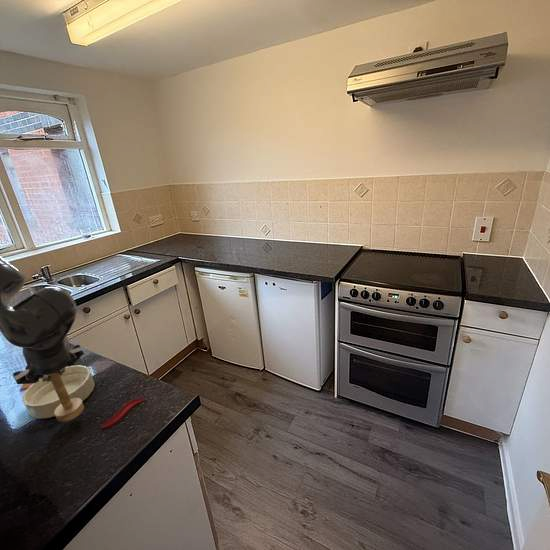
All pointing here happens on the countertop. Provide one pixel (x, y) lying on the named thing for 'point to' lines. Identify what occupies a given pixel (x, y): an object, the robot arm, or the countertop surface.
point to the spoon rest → (25, 386)
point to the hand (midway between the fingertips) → (53, 375)
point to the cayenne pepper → (122, 412)
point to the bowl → (45, 399)
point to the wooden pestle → (65, 401)
